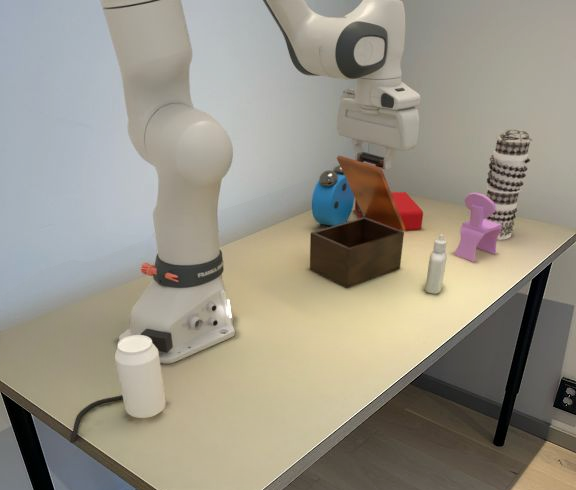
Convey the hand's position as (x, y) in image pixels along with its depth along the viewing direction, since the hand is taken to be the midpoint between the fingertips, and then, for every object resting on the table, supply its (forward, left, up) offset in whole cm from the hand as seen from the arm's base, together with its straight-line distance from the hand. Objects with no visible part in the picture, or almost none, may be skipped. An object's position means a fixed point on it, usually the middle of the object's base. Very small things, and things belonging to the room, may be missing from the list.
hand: (372, 165), depth 123 cm
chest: (-3, +1, -23) cm, 23 cm away
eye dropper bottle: (-2, -18, -23) cm, 29 cm away
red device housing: (+31, +11, -23) cm, 40 cm away
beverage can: (-68, 0, -23) cm, 72 cm away
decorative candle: (+38, -17, -23) cm, 47 cm away
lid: (0, 0, -6) cm, 6 cm away
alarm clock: (+19, +21, -23) cm, 36 cm away
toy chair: (+22, -18, -23) cm, 36 cm away
